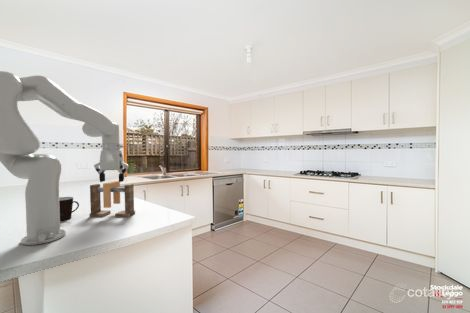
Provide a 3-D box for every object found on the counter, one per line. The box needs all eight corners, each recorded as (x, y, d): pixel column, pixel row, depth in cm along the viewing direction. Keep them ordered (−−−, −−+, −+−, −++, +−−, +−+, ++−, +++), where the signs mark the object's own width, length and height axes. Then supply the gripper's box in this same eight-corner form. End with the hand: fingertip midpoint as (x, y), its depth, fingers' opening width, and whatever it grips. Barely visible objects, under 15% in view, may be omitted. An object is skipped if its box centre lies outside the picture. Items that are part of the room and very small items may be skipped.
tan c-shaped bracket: (120, 203, 116) (119, 180, 116) (109, 207, 107) (108, 183, 107) (114, 203, 116) (114, 180, 116) (103, 207, 107) (102, 183, 107)
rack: (135, 213, 114) (134, 183, 114) (129, 217, 108) (128, 185, 108) (97, 213, 115) (96, 183, 115) (89, 216, 109) (88, 185, 109)
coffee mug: (47, 220, 104) (46, 199, 103) (68, 215, 111) (67, 196, 111) (60, 224, 98) (59, 202, 98) (81, 219, 106) (80, 198, 105)
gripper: (131, 147, 114) (132, 180, 115) (99, 147, 115) (100, 180, 115) (123, 147, 107) (124, 182, 107) (89, 147, 107) (90, 182, 108)
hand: (111, 181), depth 111 cm, fingers open, 9 cm apart
